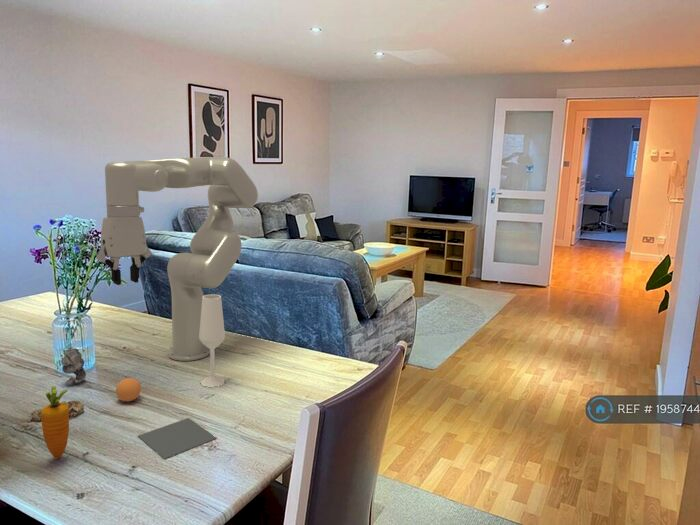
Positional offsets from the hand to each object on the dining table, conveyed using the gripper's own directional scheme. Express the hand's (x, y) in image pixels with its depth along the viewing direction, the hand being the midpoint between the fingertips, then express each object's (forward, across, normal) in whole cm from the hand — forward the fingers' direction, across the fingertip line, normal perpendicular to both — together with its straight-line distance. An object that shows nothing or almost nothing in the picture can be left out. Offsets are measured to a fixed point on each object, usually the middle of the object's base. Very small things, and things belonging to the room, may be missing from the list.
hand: (125, 282), depth 133 cm
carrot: (+27, +26, +27) cm, 46 cm away
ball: (+24, +5, +11) cm, 27 cm away
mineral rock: (+28, +20, +8) cm, 35 cm away
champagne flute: (+27, -16, +15) cm, 35 cm away
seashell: (+27, +11, -8) cm, 31 cm away
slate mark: (+27, +5, +35) cm, 45 cm away
